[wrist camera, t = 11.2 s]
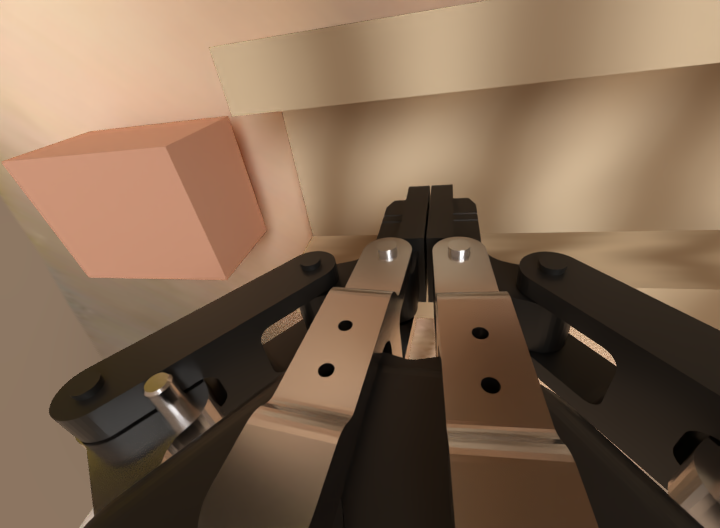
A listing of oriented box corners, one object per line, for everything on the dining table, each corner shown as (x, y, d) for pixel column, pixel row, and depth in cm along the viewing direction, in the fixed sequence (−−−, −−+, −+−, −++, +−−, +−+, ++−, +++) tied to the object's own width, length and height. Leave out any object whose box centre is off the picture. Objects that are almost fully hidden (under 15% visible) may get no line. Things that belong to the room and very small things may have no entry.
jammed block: (227, 115, 15) (164, 146, 12) (266, 230, 19) (227, 279, 15) (89, 131, 17) (0, 161, 14) (148, 232, 21) (89, 277, 17)
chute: (918, -71, 10) (1253, -130, 6) (724, 255, 16) (816, 334, 12) (273, 37, 14) (208, 47, 10) (324, 255, 21) (297, 312, 17)
